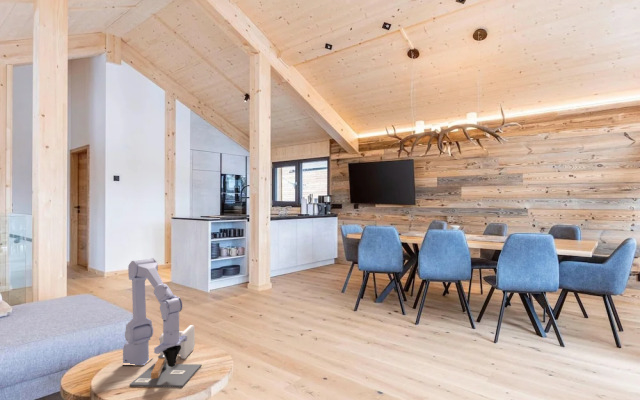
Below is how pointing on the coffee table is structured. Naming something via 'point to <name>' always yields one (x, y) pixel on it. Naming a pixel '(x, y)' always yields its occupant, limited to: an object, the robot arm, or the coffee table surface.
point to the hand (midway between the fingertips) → (171, 365)
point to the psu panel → (167, 376)
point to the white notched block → (186, 345)
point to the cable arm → (159, 366)
